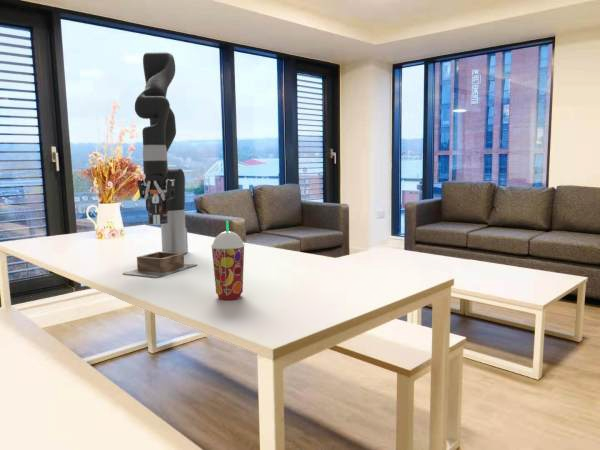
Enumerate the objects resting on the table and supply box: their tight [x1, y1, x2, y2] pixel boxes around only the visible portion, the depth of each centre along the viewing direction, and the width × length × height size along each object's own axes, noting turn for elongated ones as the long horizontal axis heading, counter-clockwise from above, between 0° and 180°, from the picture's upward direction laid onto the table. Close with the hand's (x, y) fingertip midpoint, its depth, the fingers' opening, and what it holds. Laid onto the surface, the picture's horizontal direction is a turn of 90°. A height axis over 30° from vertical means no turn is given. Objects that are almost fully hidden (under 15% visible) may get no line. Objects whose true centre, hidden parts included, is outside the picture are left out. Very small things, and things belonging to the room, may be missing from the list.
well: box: [122, 251, 198, 279], centre depth 160 cm, size 20×14×5 cm
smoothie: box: [210, 220, 246, 301], centre depth 124 cm, size 8×8×20 cm
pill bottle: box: [147, 190, 168, 226], centre depth 158 cm, size 6×6×11 cm
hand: (157, 211), depth 158 cm, fingers closed on pill bottle, 6 cm apart
